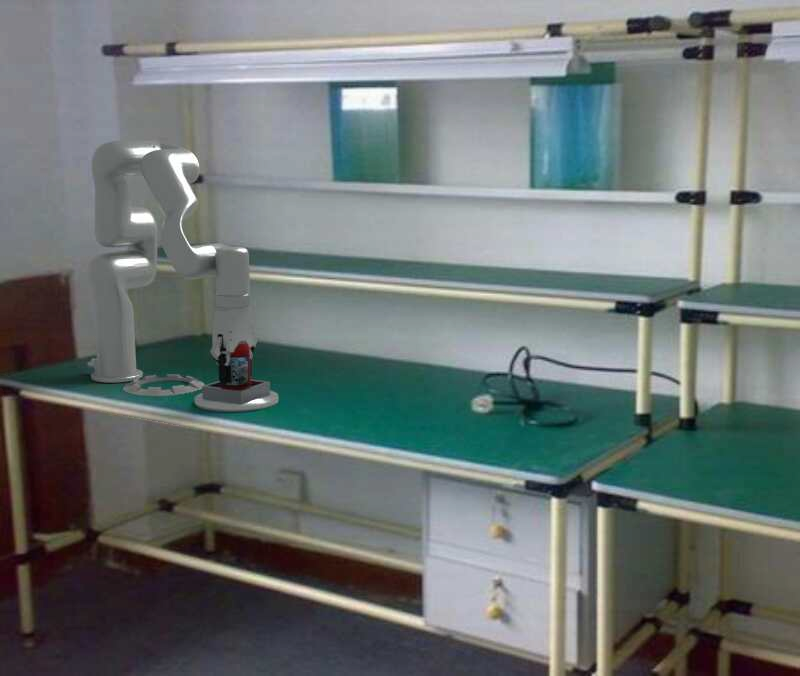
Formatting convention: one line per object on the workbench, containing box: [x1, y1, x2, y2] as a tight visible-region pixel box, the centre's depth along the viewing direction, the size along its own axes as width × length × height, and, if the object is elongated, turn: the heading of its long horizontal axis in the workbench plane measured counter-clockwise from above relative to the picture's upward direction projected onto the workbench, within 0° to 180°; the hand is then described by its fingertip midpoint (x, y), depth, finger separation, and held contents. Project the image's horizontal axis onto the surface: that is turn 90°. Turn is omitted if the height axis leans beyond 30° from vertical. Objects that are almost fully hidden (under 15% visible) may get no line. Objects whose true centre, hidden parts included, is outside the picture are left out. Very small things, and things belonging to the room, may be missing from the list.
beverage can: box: [221, 341, 251, 390], centre depth 259 cm, size 7×7×12 cm
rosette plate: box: [194, 378, 279, 413], centre depth 260 cm, size 19×19×4 cm
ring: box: [122, 374, 206, 397], centre depth 276 cm, size 19×19×2 cm
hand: (235, 378), depth 259 cm, fingers closed on beverage can, 6 cm apart
